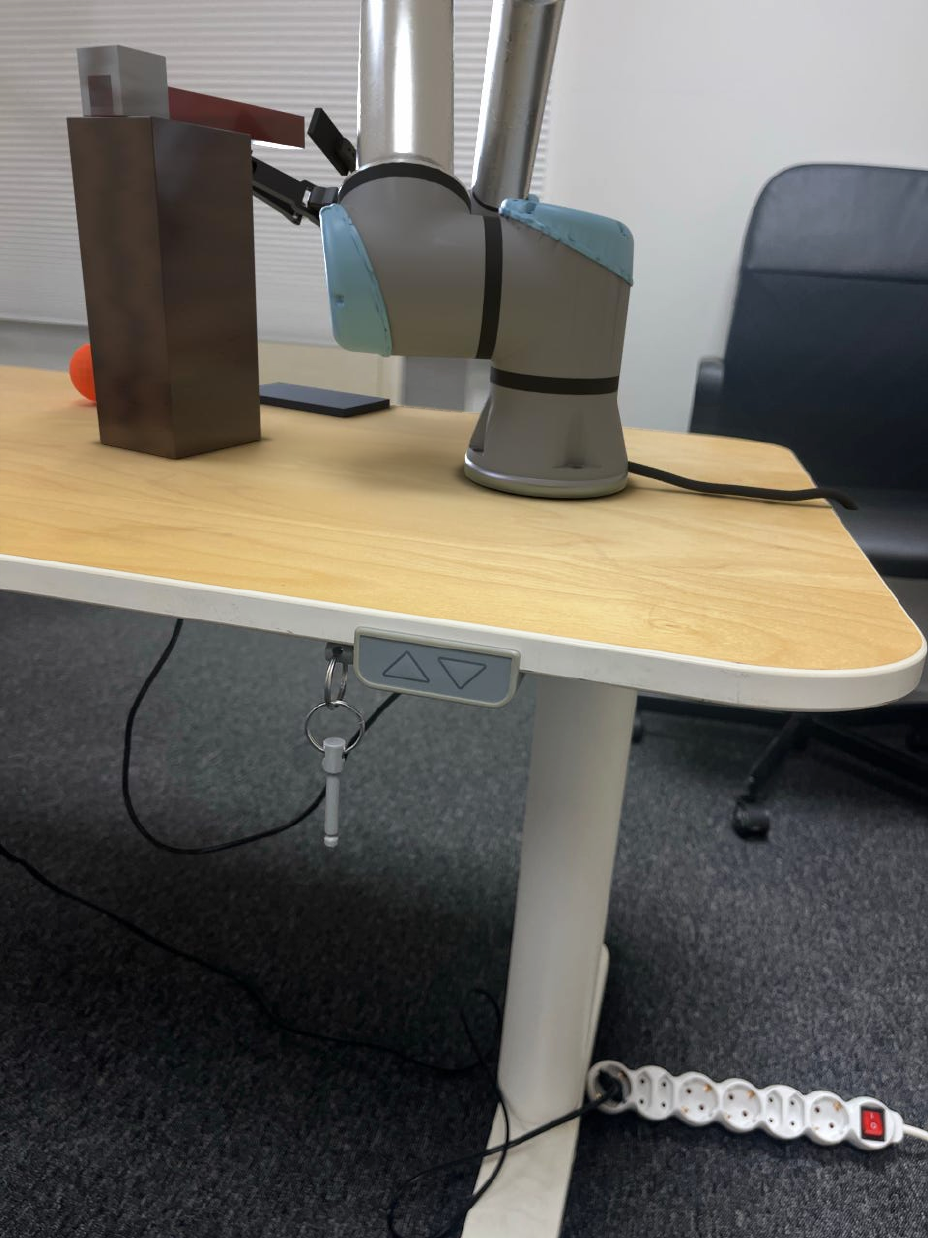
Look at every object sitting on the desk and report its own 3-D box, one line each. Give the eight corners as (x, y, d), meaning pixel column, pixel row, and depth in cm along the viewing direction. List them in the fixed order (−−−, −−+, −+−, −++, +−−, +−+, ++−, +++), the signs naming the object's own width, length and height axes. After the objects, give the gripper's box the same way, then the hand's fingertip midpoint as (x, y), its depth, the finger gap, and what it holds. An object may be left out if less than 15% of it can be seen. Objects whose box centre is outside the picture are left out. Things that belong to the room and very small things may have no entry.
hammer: (312, 148, 92) (312, 93, 90) (123, 115, 73) (117, 43, 71) (276, 148, 94) (274, 94, 92) (82, 116, 75) (75, 46, 73)
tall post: (261, 439, 92) (251, 134, 81) (175, 459, 83) (150, 115, 72) (189, 425, 97) (170, 133, 86) (100, 443, 87) (65, 116, 76)
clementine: (154, 403, 107) (149, 341, 105) (113, 411, 101) (107, 346, 99) (102, 395, 110) (96, 335, 107) (59, 403, 104) (51, 339, 101)
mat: (389, 406, 114) (390, 398, 114) (344, 417, 106) (344, 408, 105) (279, 389, 122) (279, 381, 121) (228, 397, 113) (228, 389, 113)
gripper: (291, 209, 113) (178, 88, 94) (462, 217, 103) (374, 83, 84) (273, 263, 113) (156, 153, 94) (443, 277, 102) (350, 156, 83)
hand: (259, 120), depth 88 cm, fingers open, 13 cm apart
